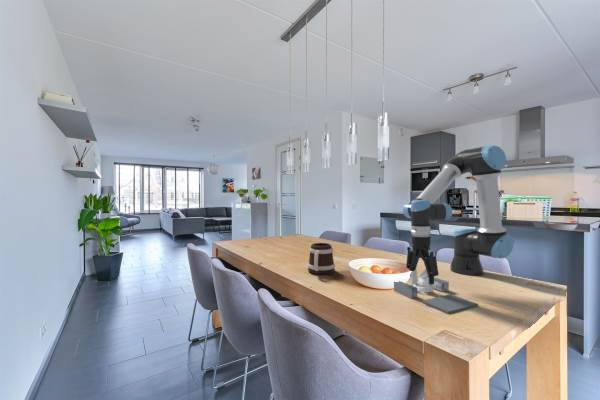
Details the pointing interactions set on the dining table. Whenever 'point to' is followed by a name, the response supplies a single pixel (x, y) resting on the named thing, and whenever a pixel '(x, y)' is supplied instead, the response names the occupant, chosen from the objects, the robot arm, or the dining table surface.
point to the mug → (321, 259)
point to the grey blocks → (412, 291)
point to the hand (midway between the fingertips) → (421, 288)
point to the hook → (421, 282)
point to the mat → (449, 303)
